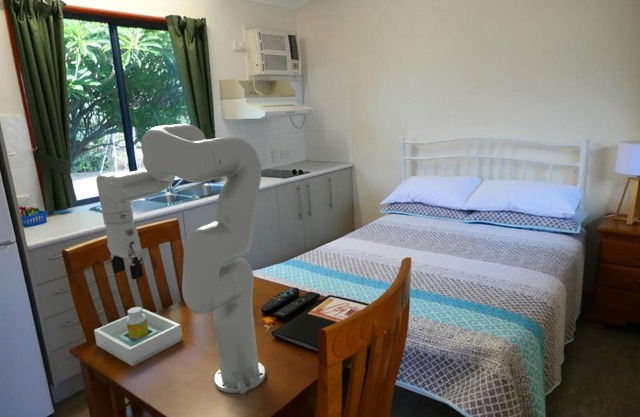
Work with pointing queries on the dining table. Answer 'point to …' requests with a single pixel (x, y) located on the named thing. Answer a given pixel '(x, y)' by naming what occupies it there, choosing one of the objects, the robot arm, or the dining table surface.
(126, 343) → the storage box
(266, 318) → the dining table surface
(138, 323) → the supplement bottle
